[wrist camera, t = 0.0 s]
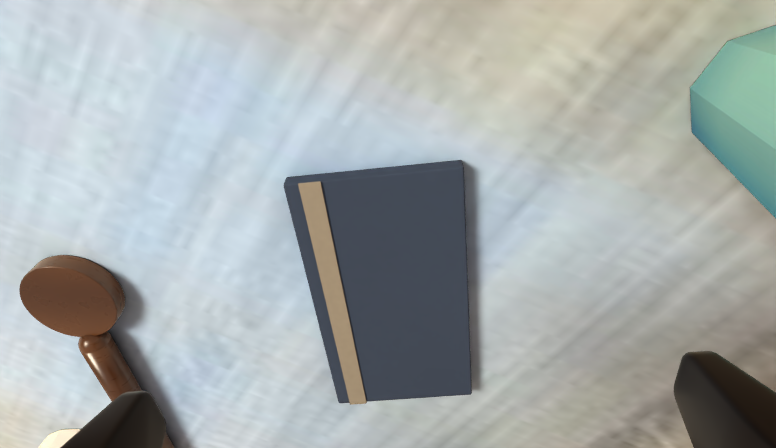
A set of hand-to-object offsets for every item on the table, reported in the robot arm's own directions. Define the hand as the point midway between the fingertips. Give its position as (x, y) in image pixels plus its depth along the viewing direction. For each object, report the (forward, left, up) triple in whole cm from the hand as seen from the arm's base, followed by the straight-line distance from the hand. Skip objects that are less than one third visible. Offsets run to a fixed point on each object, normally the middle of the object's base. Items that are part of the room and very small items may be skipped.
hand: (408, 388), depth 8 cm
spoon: (-14, +18, -15) cm, 27 cm away
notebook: (-10, +1, -15) cm, 18 cm away
